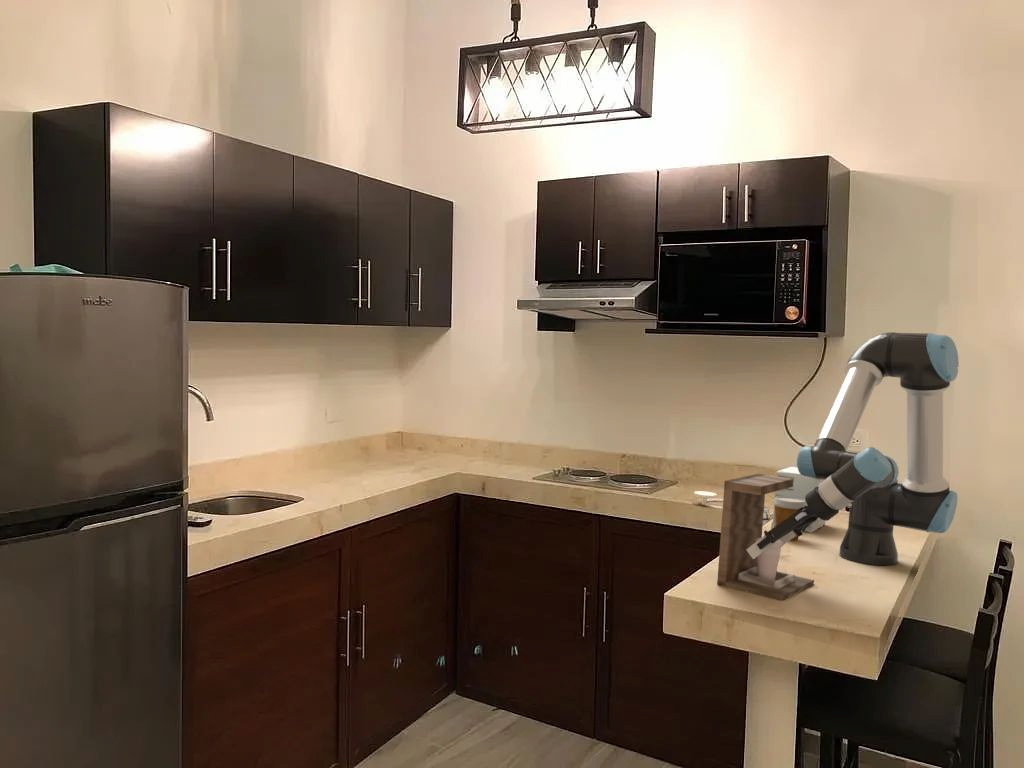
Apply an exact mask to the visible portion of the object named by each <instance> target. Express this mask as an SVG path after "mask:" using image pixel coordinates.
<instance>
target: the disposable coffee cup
mask: <svg viewBox="0 0 1024 768" xmlns="http://www.w3.org/2000/svg"><path fill="white" fill-rule="evenodd" d="M774 500H775V501H773V505H775V517H776V526H777V525H778V524H780V523H781V522H783V521H784V520H786V519H787V518H789V517H790V516H791V515H792V514H794V513H796V512H797V510H798V509H800V508H801V507H803V508H804V507H805V506H806V504H805V500H803V499H799V498H793V497H776V498H775V497H774ZM795 534H796V536H795V537H794V538H792V539H791V540H790V541H791V542H795V540H796V541H798V540H799V536H798V535H797V533H795ZM790 541H789V542H790Z"/></svg>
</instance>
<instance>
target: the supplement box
mask: <svg viewBox="0 0 1024 768" xmlns="http://www.w3.org/2000/svg"><path fill="white" fill-rule="evenodd" d="M775 476H778V477H785V478H791V479H793V487H790V488H786V489H782V490H779V491H775V492H774V501H775V498H776V497H793V498H799V499H803V500H805V496H806V494H808V493H809V492H810V491H811V490H813V489H814V488H815V487H819V484H820V483H821V482H823V481H824V479H815V478H811V477H807V476H803V475H801V474H800V473H799V471H798V468H797V466H789V467H785V468H782V469H780V470H777V471H776V475H775ZM774 501H773V502H774ZM805 504H806V506H807V502H806V500H805ZM773 505H774V504H773ZM772 523H774V527H775V526H776V517H775V505H774V506H773V515H772ZM823 525H824V526H826V521H825V520H822V519H820V518H818V519H817V520H816V521H815V522H813V523H812V524H811V525H810V526H809V527H807V528H806V529H805V531H804V532H806V531H807V533H811V532H812V533H813V532H815V531H816V530H819V529H820V527H821V528H823V527H824V526H823ZM818 528H819V529H818Z"/></svg>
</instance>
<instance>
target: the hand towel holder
mask: <svg viewBox="0 0 1024 768" xmlns="http://www.w3.org/2000/svg"><path fill="white" fill-rule="evenodd" d="M693 493H694V495H695V496H699V497H702V502H701V505H702V506H706V507H708V508H713V509H717V510H723V506H720V505H715V504H711V503H709V502H710V501H712V502H719V501H723V498H714V497H716V496H718V495H717V493H716V492H711V491H706V490H705V491H704V490H702V491H701V490H698V491H694V492H693Z"/></svg>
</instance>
